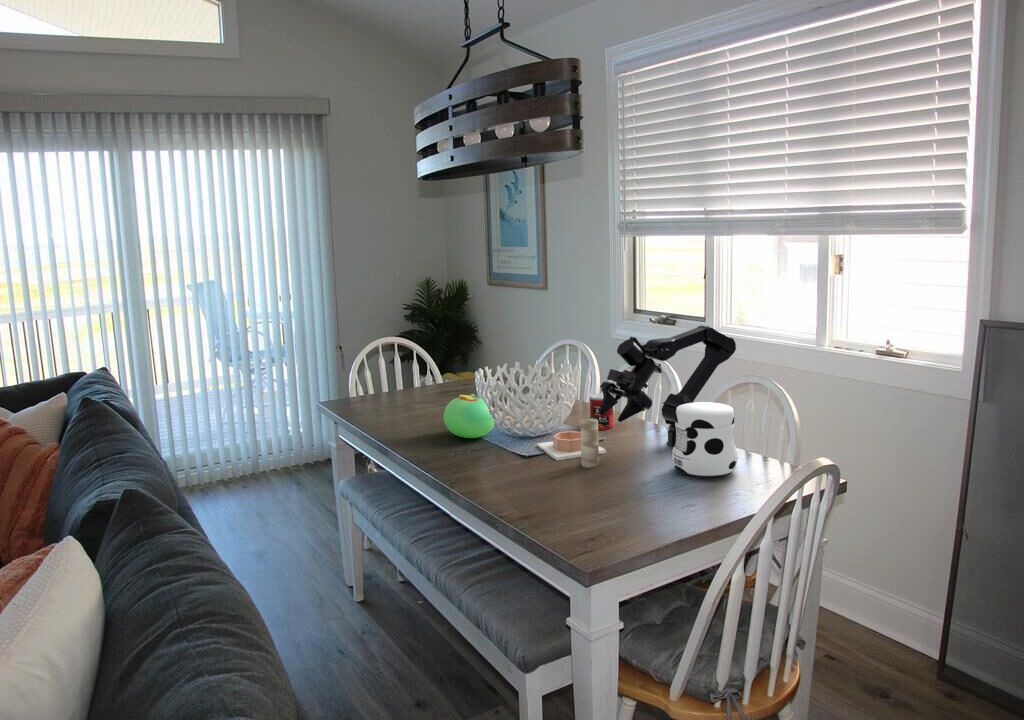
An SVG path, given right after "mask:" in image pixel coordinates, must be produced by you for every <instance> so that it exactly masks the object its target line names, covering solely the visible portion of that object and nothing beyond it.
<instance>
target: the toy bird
mask: <svg viewBox="0 0 1024 720" xmlns="http://www.w3.org/2000/svg"><path fill="white" fill-rule="evenodd" d="M482 398H483V397H480V396H476V395H475V394H474V393H471V394H470V395H469V394H468V395H467V394H466V395H465V394H459V397H455V398H454V399H452V400H451V401H449V403H447V404H446V407H445V408H444V412H443V421H444V424H445V427H446V428H447V430H449V432H451V433H452V434H453V435H454V436H455V435H456V436H457V437H460V438H463V439H464V438H466V439H477V438H478V439H479V438H481V437H483V436H485V435H487V434H488V433H490V432H491V430H492V429H493V428H494V426H495V423H496V422H495V423H494V420H493V418H492V416H491V415H490V412H489V409H488V407H487V405H486V403H485V402H484V400H483V399H482Z"/></svg>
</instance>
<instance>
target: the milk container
mask: <svg viewBox="0 0 1024 720" xmlns="http://www.w3.org/2000/svg"><path fill="white" fill-rule="evenodd" d="M675 431H676V437H675V443H674V446H672V452H671V457H672V464H673V467H674V469H676V470H677V472H679V473H681V474H683V475H685V476H687V477H693V478H701V479H714V478H722V477H725V476H729V475H730V474H732V473H733V472H735V469H736V468H737V464H738V450H737V447H736V443H735V412H734V408H733V407H732V406H731V405H728V404H725V403H719V402H711V401H709V402H707V401H698V402H696V401H695V402H694V401H693V403H686V404H682V405H680V406H678V407H677V409H676V422H675Z"/></svg>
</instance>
